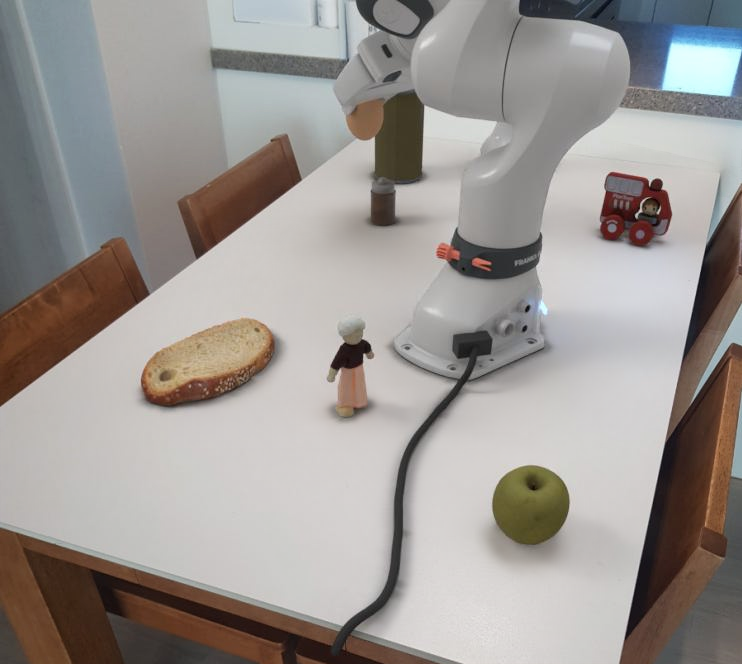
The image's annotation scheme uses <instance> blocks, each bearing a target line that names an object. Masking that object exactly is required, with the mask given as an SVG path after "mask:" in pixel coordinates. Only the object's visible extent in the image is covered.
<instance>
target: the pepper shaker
mask: <svg viewBox="0 0 742 664" xmlns="http://www.w3.org/2000/svg"><path fill="white" fill-rule="evenodd" d="M396 191H397V190H396V184H395V182H394V181H392V180H389V179H387V178H386V177H381V178H379V179H375V180H373V181H372V182H371V189H370V223H371V224H373V225H375V226H381V227H384V226H385V227H386V226H391V225H393V224H394V223H395V222H396V201H397V200H396V195H397V194H396V193H397V192H396Z"/></svg>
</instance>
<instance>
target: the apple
mask: <svg viewBox="0 0 742 664" xmlns="http://www.w3.org/2000/svg"><path fill="white" fill-rule="evenodd" d="M494 488H495V489H494V491H493V494H492V502H491V510H492V515H493V519H494V521H495V524H496V525H497V526H498V528H499V529H500V531H501V533H503V534H504V535H505V537H507V538H508V539H510V540H512V541H513V542H515V543H517V544H519V545H524V546H535V545H539V544H542V543H545V542H546V541H549V540H551V539H552V538H553V537H555V536H556V535H557V534H558V533H559V531H560V530H561V529H562V528H563V526H564V525H565V523H566V521H567V518H568V516H569V512H570V505H571V499H570V493H569V490H568V487H567V486H566V483H565V482H564V480H563V479H562V478H561V476H560V475H558V474H557V473H556V472H554V471H552V470H551V469H549V468H547V467H543V466H541V465H536V464H535V465H534V464H528V465H522V466H519V467H516V468H513V469H512V470H510V471H508V472H507V473H505V475H503V476H502V477H501V478H500V479H499V480H498V483H497V484H496V486H495V487H494Z"/></svg>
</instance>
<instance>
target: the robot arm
mask: <svg viewBox="0 0 742 664" xmlns="http://www.w3.org/2000/svg"><path fill="white" fill-rule="evenodd" d="M520 1H521V0H355V4H356V9H357V11H358V13H359V15H360V16H361V18H362V19H363V20H364V21H365V22H366V23H367V24H369V25H370V26H372V27H374V28H376V29H377V30H378V31H376V32H373V33H372V34H370V35H368V36H367V37H364V38H362V39H361V40H360V41H359V43H358V44H357V46H356V50H357V52H358V53H356V54H354V55H353V56H352V57H351V58H350V59H349V60H348V62H347V63H346V64H345V65H344V66H343V69H342V71H341V72H339V75H338V76H337V78H336V80H335V81H334V83H333V85H332V86H333V87H332V91H333V93H334V96H335V97H336V99H337V101H338V102H339V104H340V106H341V110H342V112H343V113H344V115H345V117H346V116H348V115H352V114H353V113H354V112H355V111H356V110H357V107H356V105H357V104H361V103H364V102H368V101H372V100H375V99H379V98H381V101H382V104H383V105H384V104H385V103H386V102H387V100H389V99H390V98H392V97H393V96H394V95H396V94H397V93H400V92H404V91H407V90H411V89H415V92H416V94H417V96H418V98H419V99H420V101H421V102H422V103H423V104H424V107H428V108H430V109H433V110H436V111H438V112H441V113H444V114H447V115H450V116H453V117H455V118H464V119H471V120H480V121H488V122H489V121H491V122H496V123H497V122H505V123H507V124H511V125H512V126H513V134H512V139H511V142H510V143H508V144H506V145H504V146H501V147H498V148H496V149H493V150H491V151H488V152H486V153H484V154H482V155H481V154H480V155H479V156H477V157H475V158H474V159H472V161H470V163H469V164H468V165H467V166H466V168H465V169H464V172H463V174H462V177H461V180H460V191H459V192H460V193H459V206H458V216H457V217H458V218H457V221H458V222H457V226H456V228H455V229H454V232H453V234H452V237H451V240H450V245H449V244H447V243H445V242H441V243H439V244H438V246H437V248H436V251H435V256H436V257H437V258H438V259H440V260H445V261H446V263H445V264H444V266H443V267H442V268H441V270H440V271H439V273H438V274H437V275H436V277H435V278H434V279H433V281H432V282H431V283H430V285H429V286H428V288H427V289H426V290H425V292H424V293H423V295H422V296H421V297H420V299H419V300H418V302H417V303H416V305H415V306H414V311H413V316H412V322H411V324H410V325H409V326H408V327H406V329H405V330H404V331H402V332H401V333H400V334H399V335H398V336H396V338H395V339H394V343H393V347H394V349H395V351H396V352H397V353H398V354H399V355H400V356H401V357H403V358H404V359H406V360H407V361H408V362H410V363H412V364H414V365H416V366H418V367H420V368H422V369H424V370H427V371H429V372H432V373H435V374H437V375H440V376H444V377H446V378H447V377H448V378H451V379H456V380H457V379H458V381H457V382H456V383H455V385H454V386H453V387H452V389H451V390H450V391H449V393H447V395H446V396H445V397H444V398H443V400H442V401H440V403H439V404H438V405H437V406H436V407H435V408H434V409H433V410H432V412H430V414H429V415H428V416H427V418H425V420H424V421H423V423H422V424H421V425H420V426H419V427H418V428H417V430H416V431H415V432H414V433H413V435H412V437H411V438H410V440H408V441H409V442H408V443H407V445H406V447H405V449H404V452H403V454H402V457H401V460H400V462H399V467H398V471H397V477H396V485H395V490H394V499H393V501H394V502H393V536H392V545H391V553H390V554H391V555H390V565H389V571H388V577H387V580H386V582H385V584H384V587H383V589H382V591H381V593H380V594H379V596H378V597H377V598H376V599H375V600H374V601H373V602H371V603H370V604H369V605H368V606H366V607H365V608H363V609H362V610H360V611H359V612H357V613H356V614H354V615H353V616H352V617H351V618H350V619H348V620H347V621H346V622H345V623H344V625H342V627H341V628H340V630H339V631H338V633H337V634H336V636H335V638H334V641H333V642H332V645H331V649H330V655H332V656H338V655H340V654H341V652H342V651H343V648H344V647H345V644H346V641H347V640H348V638H349V637H350V636H351V634H352V633H353V632H354V630H356V628H358V627H359V626H360V625H361V624H362V623H364V622H366V621H367V620H369V619H370V618H371V617H373V616H375V615H376V614H377V613H379V612H380V611H381V610H382V609H383V608H384V606H385V605H386V604H387V603H388V601H389V600H390V599H391V596H392V594H393V592H394V590H395V587H396V585H397V582H398V578H399V574H400V568H401V557H402V545H403V544H402V543H403V534H404V493H405V486H406V478H407V472H408V467H409V463H410V460H411V457H412V455H413V453H414V450H415V449H416V447H417V444H418V443H419V442H420V440H421V439H422V437H423V436H424V435H425V434H426V432H427V431H428V430H429V429H430V428H431V426H433V424H434V423H435V422H436V420H437V419H438V418H439V417H440V415H441V414H442V413H443V412H444V410H445V409H446V408H447V407H448V406H449V405H450V404H451V402H453V400H454V399H455V398H456V397H457V395H458V394H459V393H460V391H461V390H462V389H463V387H464V386H465V385H466V383H467V382H468V381H471V380H475V379H477V378H479V377H482V376H483V375H486V374H489V373H490V372H493V371H495V370H497V369H500V368H501V367H504V366H506V365H509V364H511V363H513V362H515V361H517V360H520V359H521V358H524V357H527V356H528V355H531V354H533V353H534V352H537V351H539V350H541V349H543V348H544V347H545V341H546V338H545V337H544V335H543V334H542V333H541V331H540V326H541V314H542V313H543V315H547V314H548V308H547V307H546V305H545V303H544V302H543V300H542V298H543V287H542V284H541V281H540V278H539V275H538V269H537V266H538V265H539V263H540V261H541V259H540V258H541V254H542V251H543V234H542V232H541V230H542V229H541V228H542V224H543V219H544V212H545V207H546V203H547V198H548V194H549V190H550V185H551V182H552V179H553V176H554V174H555V172H556V171H557V168H558V166H559V165H560V163H561V161H562V160H563V159H564V157H565V155H566V154H567V153H568V152H569V150H570V149H571V148H572V147H573V146H574V145H575V144H576V143H577V142H578V141H579V140H581V139H582V138H583V137H585V136H586V135H587V134H589V133H590V132H591V131H593V130H595V129H597V128H598V127H600V126H601V125H603V124H605V123H606V122H607V121H608V120H609V119H610V118H611V117H612V115H613V114H614V113H616V111H617V110H618V108H619V107H620V105H621V103H622V102H623V100H624V98H625V95H626V93H627V90H628V88H629V87H628V86H629V82H630V78H631V59H630V54H629V49H628V47H627V45H626V43H625V40H624V39H623V37H622V35H621V34H620V33H619V32H618V31H615V30H612V29H608V28H606V27H603V26H600V25H596V24H593V23H589V22H587V21H582V20H574V19H560V18H545V17H531V16H526V15H524V14H523V15H522V14H520ZM541 312H542V313H541Z"/></svg>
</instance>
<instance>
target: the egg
mask: <svg viewBox="0 0 742 664" xmlns="http://www.w3.org/2000/svg"><path fill="white" fill-rule="evenodd" d="M356 107H357V110H356V111H355V112H354V113H353V114H352V115H348V116H346V115H345V121H346V125H347V128H348V129H349V131H350V132H351V134H352V135H353V136H354V138H356V139H357V140H360V141H370V140H372V139H373V138H375V136H376V134H377V133H378V132H379V130H380V129H381V126H382V123H383V104H382V101H381V98H379V99H375V100H372V101H368V102H364V103H361V104H357V105H356Z"/></svg>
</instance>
